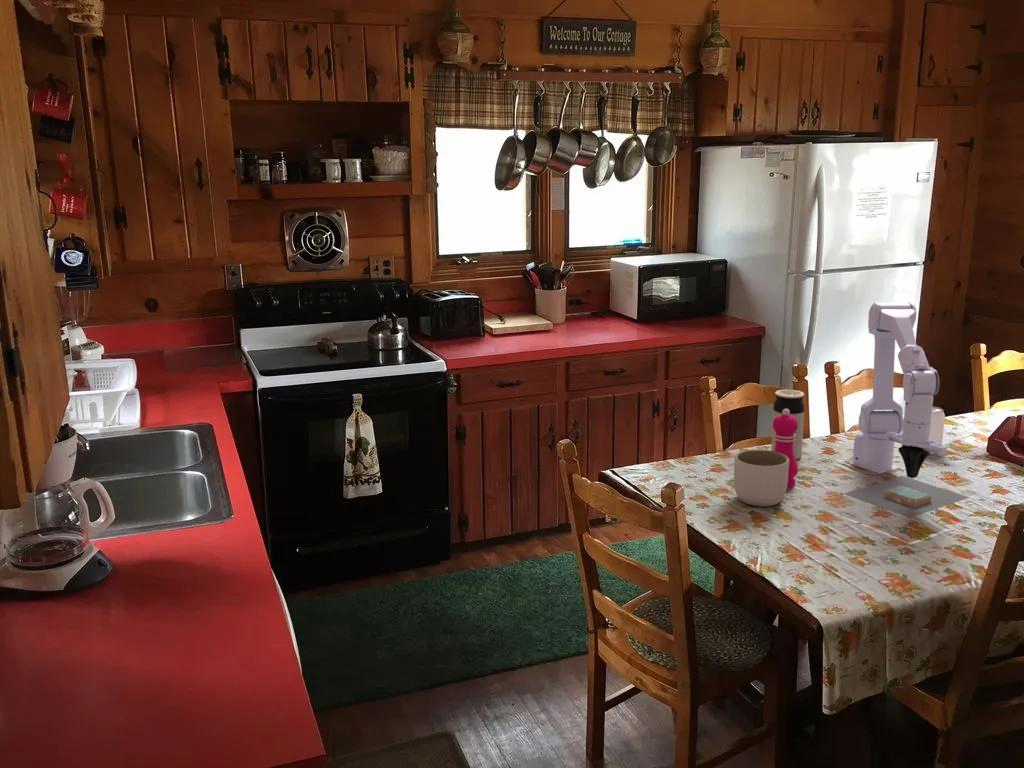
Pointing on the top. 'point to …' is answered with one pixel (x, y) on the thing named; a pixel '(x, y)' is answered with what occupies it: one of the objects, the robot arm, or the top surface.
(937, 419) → the can
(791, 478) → the pepper mill
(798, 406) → the travel mug
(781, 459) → the planter
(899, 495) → the brown framed teal panel
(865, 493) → the rubber mat
